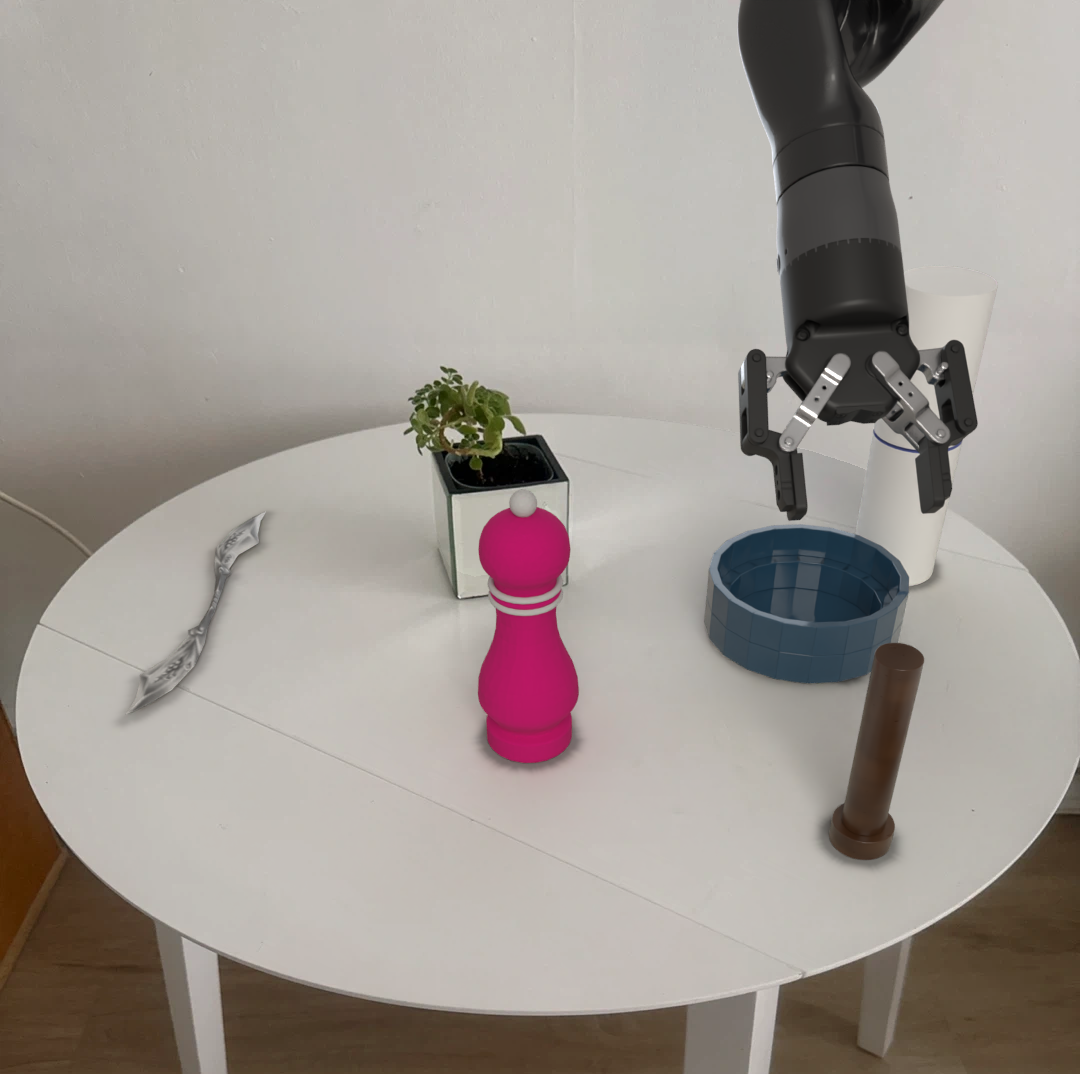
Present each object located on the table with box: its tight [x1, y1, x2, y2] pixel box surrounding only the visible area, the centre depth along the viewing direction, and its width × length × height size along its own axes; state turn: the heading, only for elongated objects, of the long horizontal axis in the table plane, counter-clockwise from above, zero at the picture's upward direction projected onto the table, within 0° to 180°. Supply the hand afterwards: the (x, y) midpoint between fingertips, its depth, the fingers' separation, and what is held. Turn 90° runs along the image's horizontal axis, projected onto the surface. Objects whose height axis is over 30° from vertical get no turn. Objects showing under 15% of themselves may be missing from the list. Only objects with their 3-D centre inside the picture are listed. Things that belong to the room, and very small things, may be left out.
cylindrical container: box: [854, 265, 999, 587], centre depth 96 cm, size 7×7×25 cm
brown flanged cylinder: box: [828, 642, 925, 861], centre depth 72 cm, size 4×4×15 cm
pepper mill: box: [477, 488, 580, 764], centre depth 79 cm, size 7×7×20 cm
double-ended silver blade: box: [125, 510, 267, 715], centre depth 100 cm, size 32×1×5 cm
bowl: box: [703, 523, 910, 685], centre depth 93 cm, size 15×15×6 cm
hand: (866, 513), depth 71 cm, fingers open, 8 cm apart
